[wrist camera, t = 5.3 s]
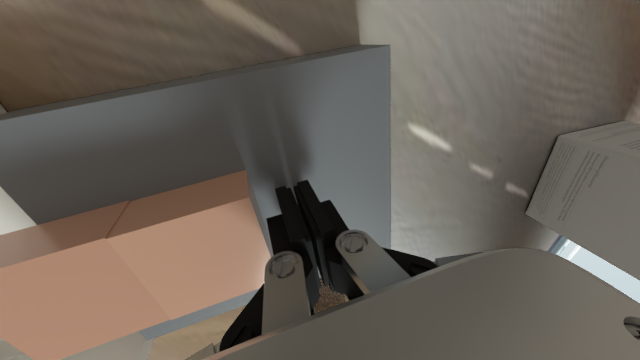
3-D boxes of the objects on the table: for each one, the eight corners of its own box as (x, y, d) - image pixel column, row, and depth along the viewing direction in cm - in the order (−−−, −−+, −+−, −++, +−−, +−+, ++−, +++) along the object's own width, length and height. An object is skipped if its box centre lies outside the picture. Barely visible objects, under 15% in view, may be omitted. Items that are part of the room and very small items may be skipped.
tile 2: (129, 200, 11) (104, 237, 9) (180, 275, 13) (170, 319, 11) (-8, 237, 10) (-73, 289, 8) (75, 310, 12) (42, 365, 10)
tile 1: (246, 169, 12) (249, 197, 10) (272, 245, 14) (279, 280, 12) (130, 201, 11) (105, 239, 9) (180, 276, 13) (171, 320, 11)
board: (360, 44, 14) (390, 44, 11) (370, 226, 20) (390, 252, 18) (15, 110, 11) (-54, 130, 8) (160, 297, 17) (147, 340, 15)
